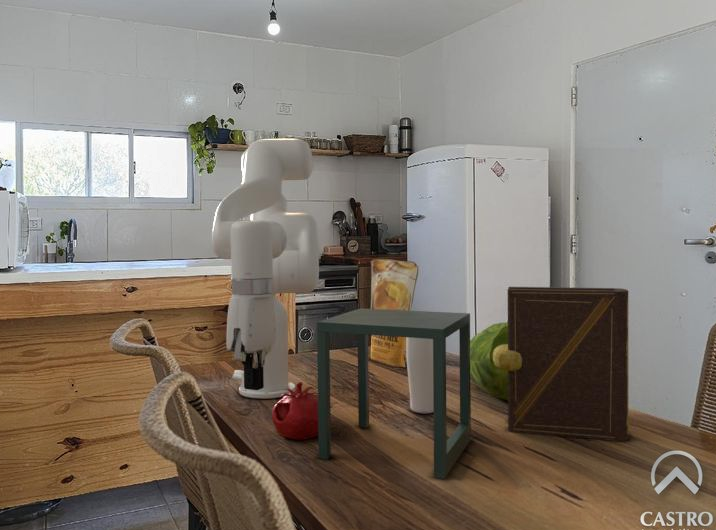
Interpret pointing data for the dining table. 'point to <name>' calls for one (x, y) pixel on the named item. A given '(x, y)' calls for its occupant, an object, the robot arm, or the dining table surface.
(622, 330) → the book
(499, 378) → the lettuce
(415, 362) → the white paper cup
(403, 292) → the pancake mix bag
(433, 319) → the bench
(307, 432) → the pomegranate
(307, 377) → the dining table surface
